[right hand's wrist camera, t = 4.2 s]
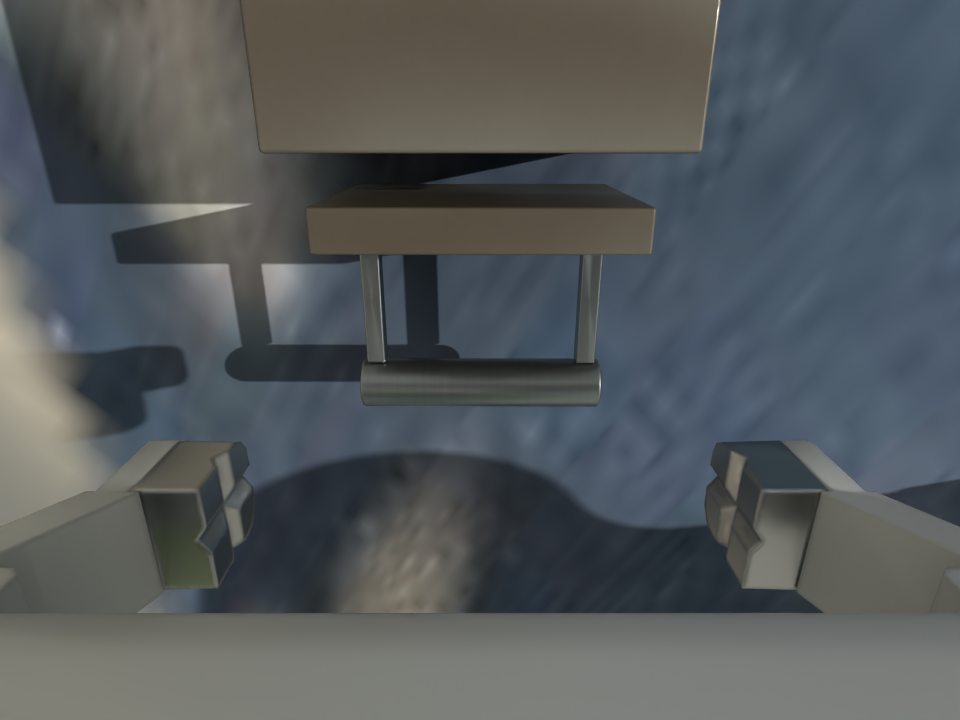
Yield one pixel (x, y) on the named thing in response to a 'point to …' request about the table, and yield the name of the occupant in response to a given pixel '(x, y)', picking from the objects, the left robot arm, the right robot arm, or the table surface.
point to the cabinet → (480, 75)
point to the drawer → (480, 231)
